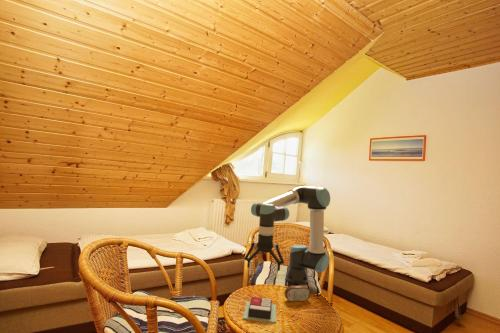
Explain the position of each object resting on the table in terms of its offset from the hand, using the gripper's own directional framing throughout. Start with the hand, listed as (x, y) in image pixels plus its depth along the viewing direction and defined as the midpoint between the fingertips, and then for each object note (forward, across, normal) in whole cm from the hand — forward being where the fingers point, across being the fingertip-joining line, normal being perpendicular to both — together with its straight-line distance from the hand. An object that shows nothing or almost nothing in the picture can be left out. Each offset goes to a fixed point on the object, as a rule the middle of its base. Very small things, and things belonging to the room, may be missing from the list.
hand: (263, 275), depth 147 cm
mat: (+19, 0, 0) cm, 19 cm away
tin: (+19, -20, -18) cm, 33 cm away
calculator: (+18, 0, 0) cm, 18 cm away
